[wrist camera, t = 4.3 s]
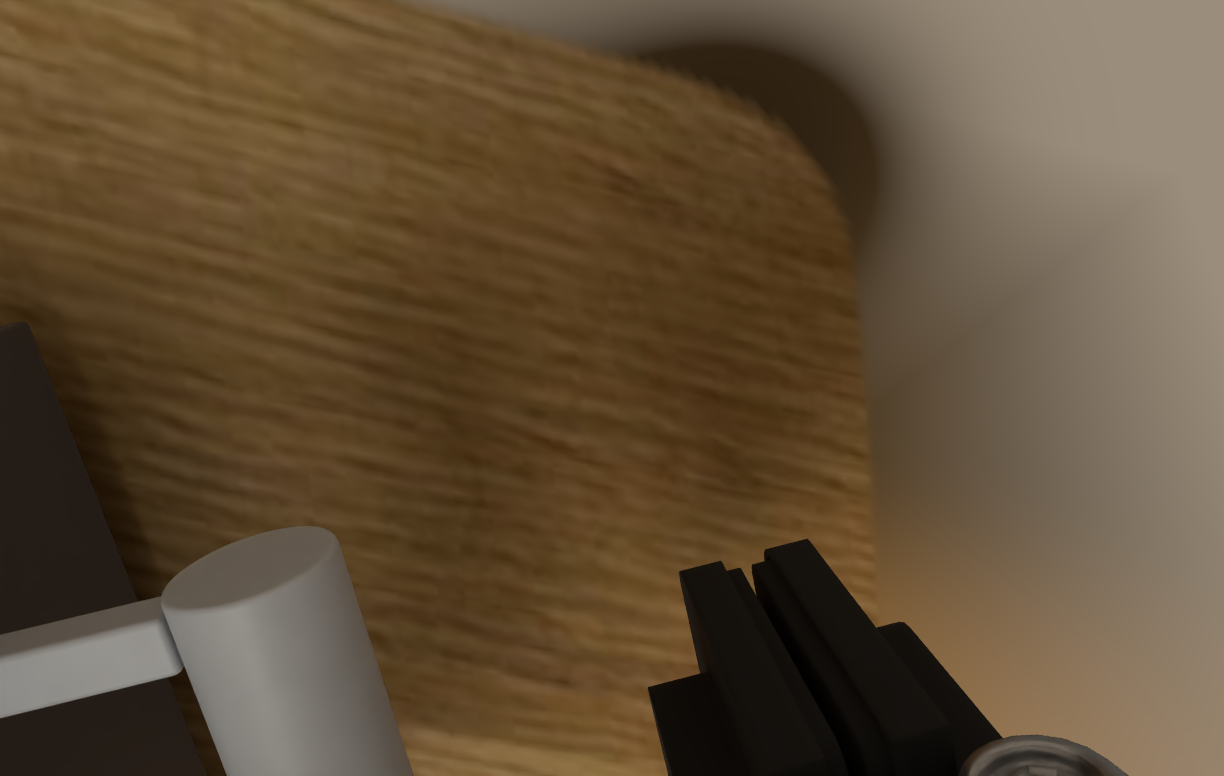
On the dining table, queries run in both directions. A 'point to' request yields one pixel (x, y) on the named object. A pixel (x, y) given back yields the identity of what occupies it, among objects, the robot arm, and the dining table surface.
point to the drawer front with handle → (167, 630)
